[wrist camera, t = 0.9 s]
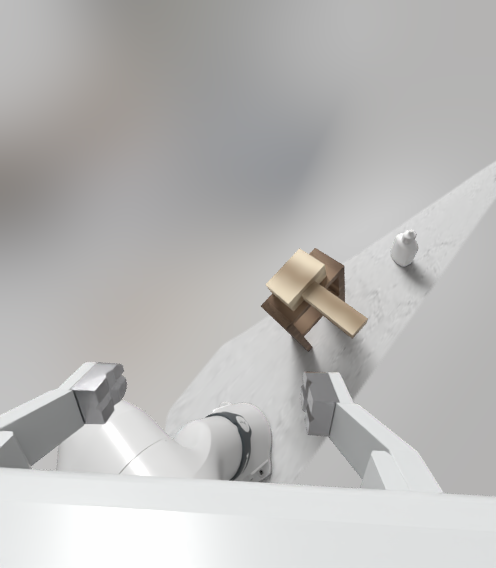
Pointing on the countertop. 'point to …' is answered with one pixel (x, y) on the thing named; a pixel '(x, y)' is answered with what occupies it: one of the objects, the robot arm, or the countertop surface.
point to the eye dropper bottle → (404, 248)
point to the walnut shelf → (305, 314)
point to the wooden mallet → (313, 292)
